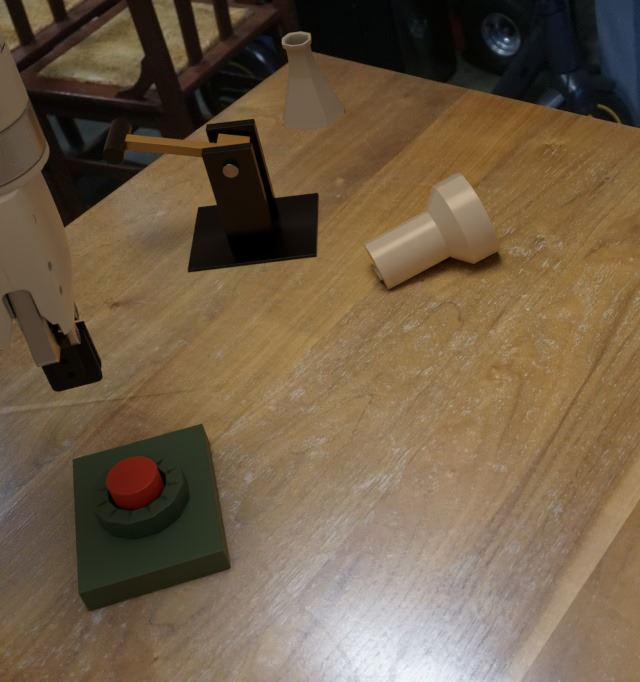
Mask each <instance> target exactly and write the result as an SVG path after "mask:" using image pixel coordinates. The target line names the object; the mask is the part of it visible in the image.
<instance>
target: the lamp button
mask: <svg viewBox="0 0 640 682" xmlns="http://www.w3.org/2000/svg"><path fill="white" fill-rule="evenodd" d="M106 485H107V488H108V490H109V492H110V494H111V496H112V498H113V500H114V502H115V503H116V504H117V505H118V506H119V507H121V508H123V509H127V510H135V509H139V508H143V507H146V506H148V505H149V504H151V503H152V502H154V501H155V500H156V499H157V498H158V497H159V495H160V494H161V492H162V489H163V480H162V478H161V475H160V473H159V471H158V469H157V466H156V464H155V463H154V462H153V461H152V460H151V459H149V458H146V457H140V456H138V457H131V458H127V459H125V460H123V461H121V462H119V463H118V464H116V465H115V466H114V467H113V468H112V469H111V470H110V472H109V473H108V476H107V479H106Z"/></svg>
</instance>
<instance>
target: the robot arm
mask: <svg viewBox="0 0 640 682" xmlns="http://www.w3.org/2000/svg"><path fill="white" fill-rule="evenodd" d="M49 157H50V145H49V143H48V141H47V138H46V136H45V133H44V131H43V128H42V126H41V124H40V121H39V119H38V116H37V114H36V111H35V109H34V107H33V104H32V101H31V98H30V96H29V94H28V91H27V89H26V87H25V84H24V82H23V79H22V77H21V74H20V72H19V69H18V67H17V64H16V62H15V60H14V57H13V55H12V53H11V50H10V46H9V44H8V42H7V40H6V38H5V35H4V33H3V30H2V28H1V26H0V352H1V351H3V350H6V349H10V348H11V345H12V331H13V330H12V329H13V320H15V322H16V323H17V326H18V328H19V329H20V331H21V333H22V334H23V337H24V339H25V341H26V344H27V346H28V349H29V351H30V353H31V356H32V358H33V361H34V363H35V366H36V367H37V368H41V369H42V371H43V374H44V375H45V378H46V379H47V382H48V383H49V385H50V388H51V389H52V391H54V392H56V393H59V392H64V391H67V390H73V389H76V388H80V387H83V386H88V385H92V384H95V383H99V382H101V381H102V380H103V370H102V366H103V365H102V364H103V363H102V359H101V357H100V355H99V352H98V350H97V348H96V346H95V343H94V340H93V339H92V336H91V334H90V332H89V330H88V327H87V325H86V322H85V320H81V321H80V313H79V309H78V306H77V304H76V301H75V299H74V298H75V297H74V295H75V294H74V281H73V267H72V266H73V265H72V254H71V248H70V243H69V238H68V235H67V232H66V229H65V226H64V223H63V220H62V217H61V215H60V213H59V210H58V207H57V204H56V202H55V201H54V198H53V196H52V193H51V191H50V188H49V186H48V184H47V181H46V179H45V178H44V176H43V173H42V171H43V168H44V167H45V166H46V164H47V162H48V161H49ZM76 321H77V322H76Z"/></svg>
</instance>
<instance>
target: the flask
mask: <svg viewBox="0 0 640 682" xmlns="http://www.w3.org/2000/svg"><path fill="white" fill-rule="evenodd" d="M311 44H312V34H311V32H306V31H301V30H300V31H295V32H288V33H287V34H286V35H284V36H283V37H282V38H281V46H282V48H283V50H285V51H286V55H287V60H288V62H287V63H288V74H287V75H288V76H287V83H286V92H285V100H284V106H283V112H282V121H283V127H286V128H290V129H295V130H299V131H304V132H306V131H314V130H320V129H325V128H330V127H331V126H332V125H334V123H335V122H336V121H338V120H339V119H340V118H341V117H342V116H343V115H344V114H345V106H344V104H343V102H342V101H341V99H340V98H339V97H338V95H337V93H336V92H335V91H334V89H333V88H332V86H331V85H330V83H329V82H328V80H327V78H326V76H325V75H324V74H323V72H322V70H321V69H320V67H319V66H318V63H317V62H316V59H315V57H314V55H313V54H314V53H313V51H312V48H311Z"/></svg>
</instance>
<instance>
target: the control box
mask: <svg viewBox="0 0 640 682" xmlns="http://www.w3.org/2000/svg"><path fill="white" fill-rule="evenodd" d="M138 456H140V457H146V458H149V459H151V460H152V461H153V462H154V463H155V464H156V466H157V469H158V471H159V473H160V475H161V478H162V480H163V489H162V492H161V494H160V495H159V497H158V498H157V499H156V500H155V501H154V502H152V503H151V504H149V505H148V506H146V507H143V508H139V509H135V510H127V509H123V508H121V507H119V506H118V505H117V504H116V503H115V502H114V500H113V498H112V496H111V494H110V492H109V490H108V488H107V485H106V479H107V476H108V473H109V472H110V470H111V469H112V468H113V467H114V466H115V465H116V464H118V463H119V462H121V461H123V460H125V459H127V458H131V457H138ZM72 479H73V481H72V482H73V499H74V500H73V503H74V523H75V548H76V549H75V550H76V569H77V570H76V571H77V572H76V573H77V587H78V588H77V590H78V593H77V594H78V595H79V597H80V599H81V600H82V602H83V604H84V606H85V608H86V609H87V611H88V612H90V611H94V610H97V609H101V608H104V607H107V606H111V605H114V604H118V603H120V602H121V603H122V602H123V601H127V600H130V599H134V598H137V597H140V596H144V595H147V594H150V593H153V592H157V591H161V590H163V589H164V590H165V589H167V588H170V587H173V586H177V585H180V584H183V583H186V582H190V581H194V580H196V579H200V578H203V577H206V576H210V575H213V574H217V573H220V572H224V571H226V570H229V569H231V568H232V567H231V561H230V555H229V549H228V544H227V543H228V542H227V538H226V537H227V536H226V531H225V526H224V519H223V514H222V509H221V508H222V507H221V502H220V496H219V491H218V485H217V479H216V472H215V466H214V461H213V455H212V449H211V444H210V440H209V437H208V435H207V432H206V429H205V426H204V424H203V423H199V424H195V425H192V426H189V427H184V428H180V429H177V430H173V431H170V432H166V433H163V434H159V435H155V436H151V437H147V438H144V439H140V440H138V441H134V442H130V443H127V444H123V445H120V446H116V447H112V448H109V449H104V450H101V451H98V452H94V453H90V454H87V455H83V456H79V457H76V458H73V459H72Z"/></svg>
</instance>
